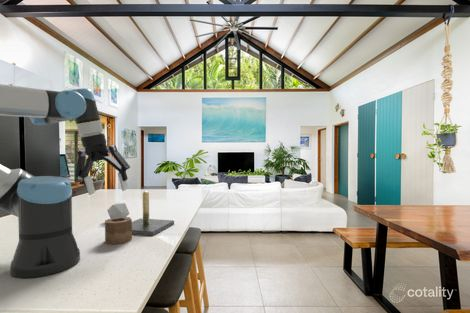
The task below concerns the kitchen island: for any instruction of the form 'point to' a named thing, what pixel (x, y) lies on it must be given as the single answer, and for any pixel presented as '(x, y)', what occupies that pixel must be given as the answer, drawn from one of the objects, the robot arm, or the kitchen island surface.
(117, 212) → the die
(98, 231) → the kitchen island surface
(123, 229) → the bead
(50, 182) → the robot arm
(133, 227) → the stand
